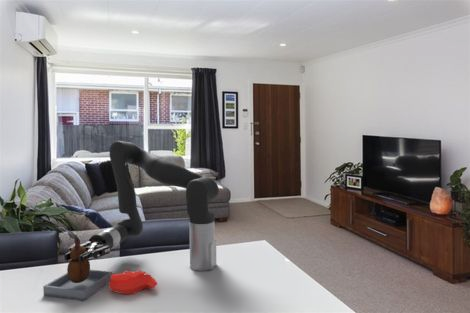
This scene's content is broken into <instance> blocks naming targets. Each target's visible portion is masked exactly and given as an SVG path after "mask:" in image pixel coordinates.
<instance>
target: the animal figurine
mask: <svg viewBox="0 0 470 313" xmlns="http://www.w3.org/2000/svg"><path fill="white" fill-rule="evenodd" d="M157 285H158V282H157V281H156V279H155V278H154V277H153V276H151V275H150V274H149V273H147V272H146V271H141V270H137V271H134V272H133V271H131V270H125V271H124V272H121V273H120V272H119V273H116V274H115V273H112V275H111V282H110V283H109V285H108V286H109V290H110V291H113V292H115V293H119V294H124V295H134V294H136V293H138V292H141V291H142V290H145V289H154V288H156V286H157Z"/></svg>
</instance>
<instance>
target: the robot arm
mask: <svg viewBox="0 0 470 313" xmlns="http://www.w3.org/2000/svg"><path fill="white" fill-rule="evenodd" d="M108 154H109V158H110V163H111V167H112V171H113V172H112V173H113V175H114V180H115V184H116V190H117V200H118V210H119V213H121V214H122V215H123V214H126V215H128V217H129V218H128V219H121V220H118V221H117V222H116V223H115V224H113V225H112V226H111V227H109V228H105V229H104V230H101V231H99V232H97V233H95V234H93V235H90V236H91V237H89V239H88V241H86V242H84V243H82V244H81V243H80V246H83V247H85V249H86V252H85V253H83V254H81V255H79V257H78V259H79V262H83V261H85V260H86V259H88V260H89V259H90V260H91V259H92V258H94V259H98V258H101V257H104V256H105V255H108V254H110V253H111V251H110V250H112V249H114V248H115V247H116V246H118V245H119V244H121V243H123V242H124V241H126V240H127V238H129V237H136V236H140V235H141V234H142V232H143V230H144V226H143V221H142V218H141V216H140V212H139V210H138V206H137V194H136V191H135V187H134V185H133V183H132V181H131V180H130V177H129V176H128V172H127V169H126V164H127V165H133V166H136V167H138V168H141V170H143V171H144V172H145V174H146V175H147V176H148V177H149V178H151V179H153V180H154V181H157V182H159V183H161V184H164V185H168V186H173V187H177V188H182V189H185V199H186V202H185V203H186V214H187V216H188V220H189V221H188V223H189V267H190V268H189V269H192V270H193V271H199V272H200V271H201V272H204V271H213V270H214V268H215V267H216V265H217V239H215V213H214V212H213V211H210V210H209V207H208V206H209V205H208V202H211V201H213V200H214V199H216V198H217V197H218V195H219V192H220V189H219V186H218V183H217V182H216V181H215V180H214V179H213V178H211V177H209V176H206V175H202V174H199V173H197V172H193V171H191V170H189V169H188V168H185V167H183V166H181V165H179V164H177V163H175V162H172V161H171V160H168V159H166V158H164V157H163V156H160V155H157V154H154V153H151V152H148V151H146V150H145V149H143V148H141V147H140V146H139V145H137V144H136V143H133V142H128V141H123V140H115V141H113V142H112V143H111V145H110V147H109V153H108ZM73 247H75V242H74V243H73V244H71V246H69V247H68V249H67V250H68V252H67V253H64V254H63V258H64V261H65V262H67V261H71V260H72V259H71V257H70V251H71V249H72V248H73Z"/></svg>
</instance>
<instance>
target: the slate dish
mask: <svg viewBox="0 0 470 313" xmlns="http://www.w3.org/2000/svg"><path fill="white" fill-rule="evenodd" d="M112 274H113V271H106V270H100V269H98V270H97V269H90V272H89V275H88V277H87V279H86V280H85V281H83V282H80V283H73V282H71V280H70V278H69V276H68V273H67V272H66V273H64V274H62V275H60V276H58V277H57V278H55V279H54V280H52V281H50V282H48V283H47V284H45V285H43V288H42V289H43V290H42V291H43V296H45V297H52V298H60V299H67V300H74V301H81V302H86V301H87V300H88V299H90V298H91V297H92V296H94V295H95V294H96V293H97V292H99V291H101V290H102V289H103V288H104V287H106V286H107V285H108V284H110V282H111V275H112Z"/></svg>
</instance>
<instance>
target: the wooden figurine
mask: <svg viewBox="0 0 470 313" xmlns="http://www.w3.org/2000/svg"><path fill="white" fill-rule="evenodd" d="M74 241H75V242H74V243H75V247H73V248H72V249H71V251H70V257H71V259H70V260H69V262H68V265H67V272H66V273H68V276H69V278H70V280H71V282H73V283H80V282H83V281H85V280H86V279H87V277H88V275H89V272H90V270H91V266H90V265H91V264H90V263H91V262H90V260H89V259H86V260H85V261H83V262H79V259H78V257H79V255H81V254H83V253H85V252H86V249H85V247H83V246H80V245H81V241H80V240H79V238H78V237H75V238H74Z"/></svg>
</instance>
